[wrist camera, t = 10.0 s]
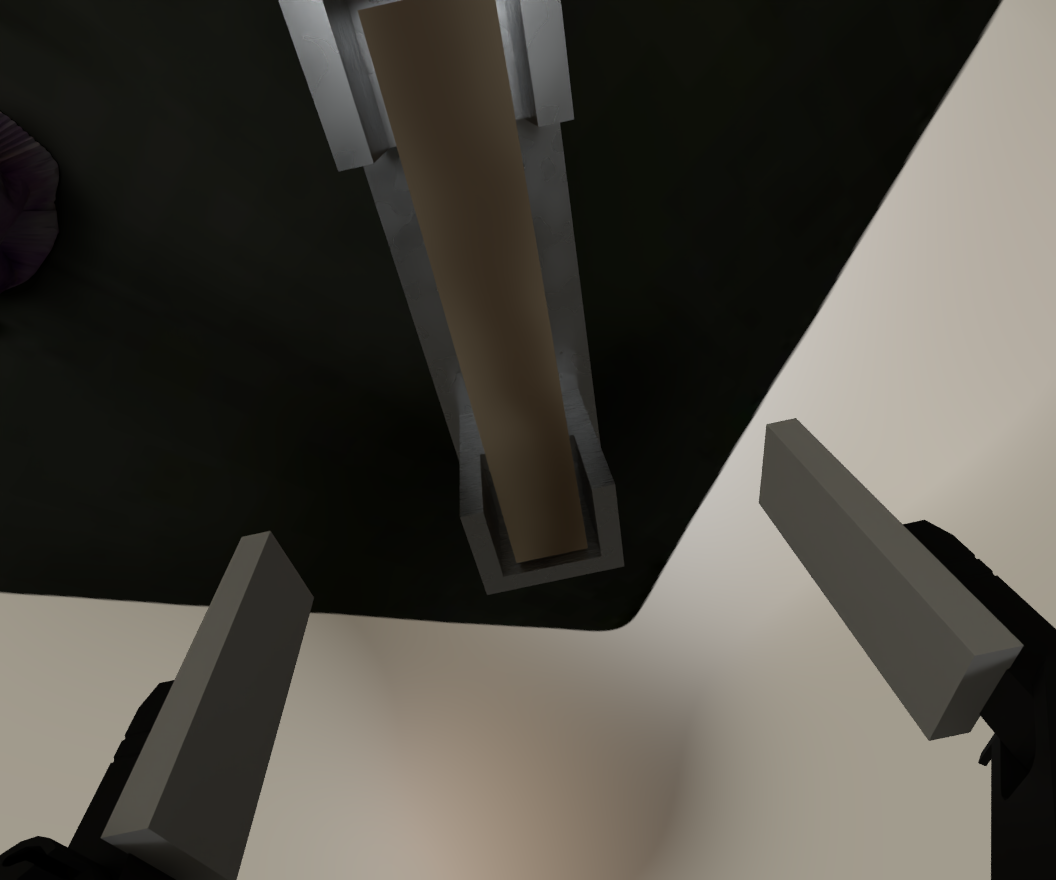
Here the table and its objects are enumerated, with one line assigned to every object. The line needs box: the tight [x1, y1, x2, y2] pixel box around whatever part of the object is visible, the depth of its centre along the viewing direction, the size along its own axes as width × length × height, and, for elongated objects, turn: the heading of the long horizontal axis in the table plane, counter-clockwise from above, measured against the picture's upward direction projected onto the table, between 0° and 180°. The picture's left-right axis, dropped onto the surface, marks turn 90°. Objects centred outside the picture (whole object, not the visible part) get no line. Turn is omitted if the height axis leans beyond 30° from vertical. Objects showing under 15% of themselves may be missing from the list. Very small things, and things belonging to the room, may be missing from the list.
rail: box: [357, 0, 588, 563], centre depth 24 cm, size 4×24×5 cm, turn 11°
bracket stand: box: [279, 0, 624, 595], centre depth 27 cm, size 10×30×11 cm, turn 10°
